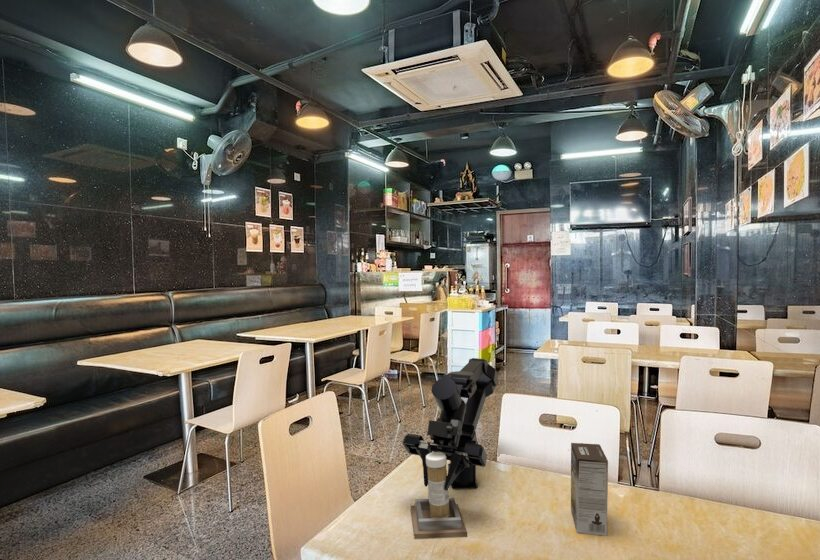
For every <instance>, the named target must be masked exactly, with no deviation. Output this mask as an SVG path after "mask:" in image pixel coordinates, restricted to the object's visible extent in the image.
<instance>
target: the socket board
mask: <svg viewBox="0 0 820 560" xmlns="http://www.w3.org/2000/svg"><path fill="white" fill-rule="evenodd" d="M414 501H415V502H414V505H410V515H411V523H412V529H413V530H412V531H413V538H414V539H415V540H419V539H420V540H421V539H422V540H424V539H437V538H438V539H441V538H443V539H444V538H445V539H446V538H463V537H464V538H466V537H468V530H467V527H466V525H465V522H464V518H463V515H462V513H461V510H460V507H459V504H458V503H456V500H455V498H454V497H449V512H450V516H449V518H431V517H430V504H429V498H419V499H415V500H414Z"/></svg>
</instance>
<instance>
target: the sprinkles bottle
mask: <svg viewBox="0 0 820 560" xmlns="http://www.w3.org/2000/svg"><path fill="white" fill-rule="evenodd" d="M447 461H448V460H447V459H446V455H445V454H444V453H442V452H432V453H429V454H427V455H426V465H427V473H428V485H427V490H428V491H427V493H428V499H429V504H430V517H431V518H449V516H450V512H449V498H450V497H449V496H450V494H449V489H448V490H447V491H446V490H445V489H444V487H445V482H446V478H447V475H448V470H447V467H448V462H447Z"/></svg>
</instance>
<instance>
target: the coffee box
mask: <svg viewBox="0 0 820 560" xmlns="http://www.w3.org/2000/svg"><path fill="white" fill-rule="evenodd" d="M570 447H571V448H570V512H571V516H572V519H573V523H574V527H575V530H576V533H577V534H585V535H594V536H603V537H608V495H609V494H608V492H609V489H608V487H609V485H608V484H609V478H608V477H609V460H608V458H607V456H606V454H605V452H604V450H603V448H602V446H601V444H597V443H583V442H582V443H580V442H571V444H570Z"/></svg>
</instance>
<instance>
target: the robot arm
mask: <svg viewBox="0 0 820 560" xmlns="http://www.w3.org/2000/svg"><path fill="white" fill-rule="evenodd" d="M498 385H499V375H498V372H497V369H496V368H495V367H493V366H492V365H491V364H489V361H488V360H487V359H485V358H477V357H476V358H474V357H473V358H469V359H468V362H467V364H465V365H464V366H463V367H462V368H461V369H460V370H457V371H451V372H448V373H447V374H445V373H443V376H442V378H439V379H437V380H435V382H434V383H433V384H432V385H431V394H432V396H433V398H434V400H435V402H436V403H437V406H438V408H439V409H440V413H439V417H437V418H436V420H431V419H430V420H428V426H427V432H426V435H427V436H429V437H430V438H429V439H430V440H432V442H430V441H427V440H424V439H425V438H423V436H422V435H420V434H413V433H407V434H406V435H405V436H404V437H403V441H402V443H401V444H402V445H403V447H404V448H405V450H406V451H407V453H408V454H410V455H414V456H419V457H420V459H421V462H422V471H423V483H424V484H423V485H424V487H427V488H428V473H427V465H426V455H427V454H429V453H432V452H442V453H444V454H445V455H446V459H447V461H449V463H447V478H446V482H445V487H444V489H445V490H446V491H447V490H448V491H449V489H450V487H451V488H452V489H453V490H461V489H465V490H466V489H477V488H478V484H477V478H476V477H477V476H476V475H477V470H476V469H477V467H478V466H479V467H486V464H487V453H486V451H485V448H484V446H483V445H482V444H479V442H478V440H477V439H478V437H477V432H476V430H477V426H478V424H479V420H480V417H481V414H482V410H483V407H484V404H485V401H486V399H487V398H488V397H489V396H491V395H493V394H494V392H495V389H496V387H498ZM463 399H467V400H466V402H465V400H463Z"/></svg>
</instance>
